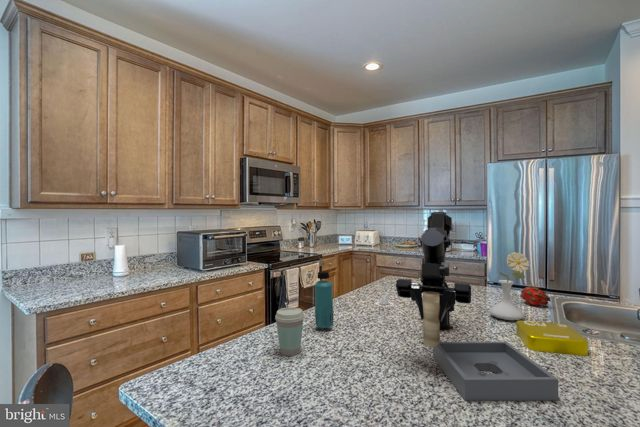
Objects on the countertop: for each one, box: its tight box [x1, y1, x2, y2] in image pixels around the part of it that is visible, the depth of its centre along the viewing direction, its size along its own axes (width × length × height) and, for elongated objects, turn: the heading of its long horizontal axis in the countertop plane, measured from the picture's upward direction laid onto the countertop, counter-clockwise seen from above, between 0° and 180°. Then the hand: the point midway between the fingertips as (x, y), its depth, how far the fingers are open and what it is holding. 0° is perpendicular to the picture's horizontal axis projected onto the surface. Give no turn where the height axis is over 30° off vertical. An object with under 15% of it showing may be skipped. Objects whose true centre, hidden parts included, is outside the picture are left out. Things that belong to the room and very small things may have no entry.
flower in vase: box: [489, 251, 530, 321], centre depth 122 cm, size 13×11×25 cm
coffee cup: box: [274, 306, 305, 357], centre depth 95 cm, size 8×8×12 cm
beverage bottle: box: [314, 270, 334, 329], centre depth 113 cm, size 6×7×20 cm
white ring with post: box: [375, 294, 395, 308], centre depth 142 cm, size 9×8×4 cm
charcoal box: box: [433, 341, 559, 401], centre depth 80 cm, size 20×20×4 cm
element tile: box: [516, 319, 589, 357], centre depth 99 cm, size 15×15×5 cm
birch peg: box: [422, 291, 441, 348], centre depth 83 cm, size 4×4×13 cm
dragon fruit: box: [519, 285, 552, 308], centre depth 137 cm, size 8×8×12 cm
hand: (430, 319), depth 82 cm, fingers closed on birch peg, 4 cm apart
